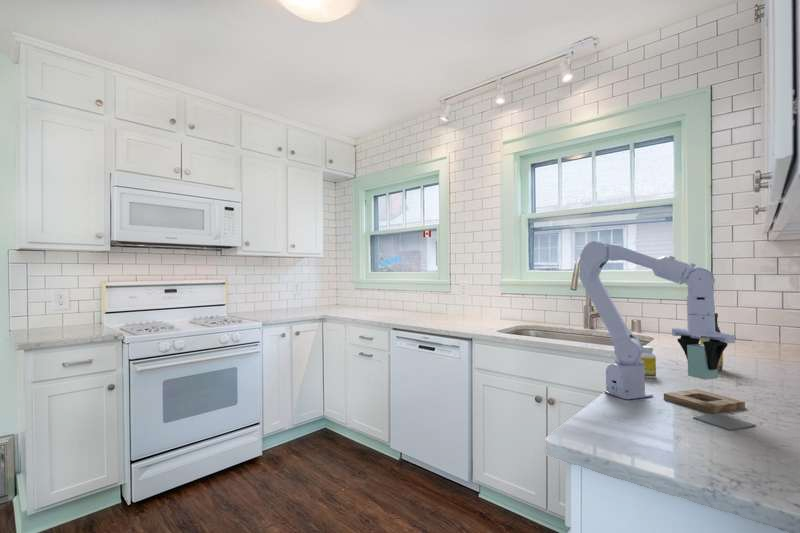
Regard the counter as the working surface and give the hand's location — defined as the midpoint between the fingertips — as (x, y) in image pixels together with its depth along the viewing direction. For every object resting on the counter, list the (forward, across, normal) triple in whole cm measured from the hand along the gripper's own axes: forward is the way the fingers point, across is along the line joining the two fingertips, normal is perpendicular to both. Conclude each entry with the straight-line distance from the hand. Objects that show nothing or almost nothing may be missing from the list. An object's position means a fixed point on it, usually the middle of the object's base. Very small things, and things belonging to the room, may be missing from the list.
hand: (702, 367), depth 103 cm
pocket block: (+9, 0, 0) cm, 9 cm away
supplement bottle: (+10, +27, -12) cm, 31 cm away
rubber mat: (+9, -10, +9) cm, 17 cm away
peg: (+2, 0, 0) cm, 2 cm away
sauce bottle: (+10, +27, -42) cm, 51 cm away
